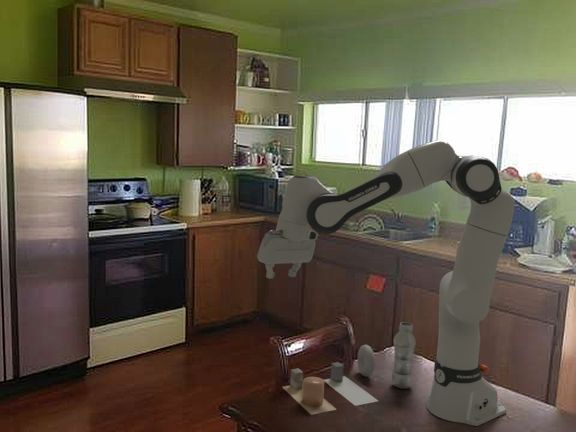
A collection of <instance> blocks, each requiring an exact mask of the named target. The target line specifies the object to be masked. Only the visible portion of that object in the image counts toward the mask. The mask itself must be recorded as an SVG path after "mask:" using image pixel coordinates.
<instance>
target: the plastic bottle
mask: <svg viewBox="0 0 576 432" xmlns="http://www.w3.org/2000/svg"><path fill="white" fill-rule="evenodd" d="M398 330H399V331H398V332H397V333H396V334H395V336H394V337H393V350H394V357H393V358H394V361H393V368H392V371H391V377H390V380H391V384H392V385H393V386H394V387H395V388H397V389H402V390H403V389H404V390H406V389H410V388H411V387H412V385H413V383H414V374H413V358H414V353H415V352H414V351H415V348H416V338H415V337H414V334H413V333H412V332H413V324H412V323H410V322H406V321H405V322H404V321H403V322H400V323H399V327H398Z"/></svg>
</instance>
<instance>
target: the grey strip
mask: <svg viewBox="0 0 576 432" xmlns="http://www.w3.org/2000/svg"><path fill="white" fill-rule="evenodd" d="M323 380H324V383H326V384H328V386H330V387H331V388H332V389H333V390H335V392H336V393H338V394H340V395H341V396H342V397H343V398H345V399H346V400H347V401H348V402H350V403H351V404H352V405H354V406H355V407H356V406H360V405H366V404H367V405H368V404H371V403H377V402H379V400H378V399H377V398H375V397H374V396H373V395H371V394H370V393H369V392H368V391H366V390H365V389H363V388H362V387H361V386H359V385H358V384H356V383H355V382H354V381H352V380H350V379H349V377H347V376H345V375H344V365H343V364H342V363H340V362H339V361H337V362H331V366H330V378H327V379H326V378H325V379H323Z"/></svg>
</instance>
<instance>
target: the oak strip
mask: <svg viewBox="0 0 576 432" xmlns="http://www.w3.org/2000/svg"><path fill="white" fill-rule="evenodd" d="M303 379H304V371H302V370H301V369H300V368H293V369H290V382H289V384H290V385H285V386H281V387H282V389H283V390H284V391H286V392H287V394H289V395H290V396H291V397H292V398H293V399H294V400H295V401H296V402H297V404H299V405H300V406H301V407H302V408H303V409H305V411H307V412H308V414H309V415H310V416H311V415H317V414H321V413H327V412H333V411H337V408H336V407H335V406H333V405H332V404H331V403H330V402H328V400H327V399H325V398H324V397H323V404H322V405H320V406H316V407H312V406H307V405H305V404H303V403H302V389H303Z"/></svg>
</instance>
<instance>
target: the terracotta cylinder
mask: <svg viewBox="0 0 576 432" xmlns="http://www.w3.org/2000/svg"><path fill="white" fill-rule="evenodd" d="M324 380H325V379H323V378H322V377H321V378H320V377H318V376H317V377H316V376H307V377H303V389H302V403H303V404H305V405H307V406H312V407H316V406H320V405H322V404H323V398H324V397H325V395H324V394H325V381H324Z"/></svg>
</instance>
